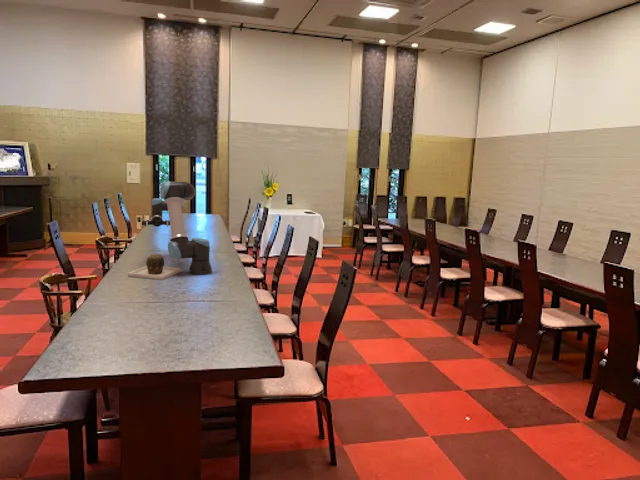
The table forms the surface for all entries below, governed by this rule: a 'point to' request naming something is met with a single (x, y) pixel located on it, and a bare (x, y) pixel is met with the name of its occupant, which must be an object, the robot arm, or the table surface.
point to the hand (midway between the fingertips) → (157, 224)
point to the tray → (144, 274)
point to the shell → (155, 264)
